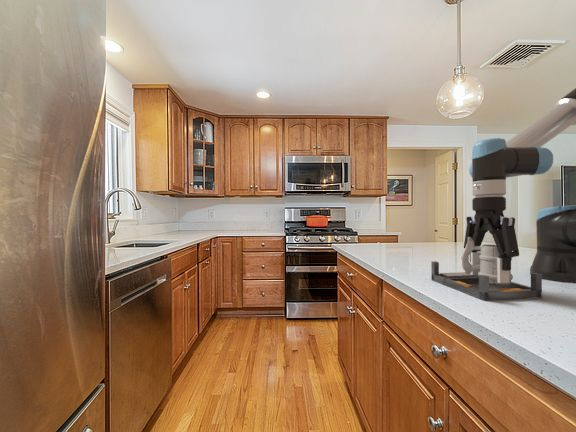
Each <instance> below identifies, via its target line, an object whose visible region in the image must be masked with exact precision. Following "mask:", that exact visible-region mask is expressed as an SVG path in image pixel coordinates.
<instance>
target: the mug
mask: <svg viewBox="0 0 576 432" xmlns="http://www.w3.org/2000/svg"><path fill="white" fill-rule="evenodd" d="M473 250H480V252H481V254H480V255H479V258H480V264H476V265H471V262H470V253H471V252H472V251H473ZM505 253H506V252H505ZM498 256H500V254H499V252H498V249H497V246H496V244H481V246H475V243H474V241H473V239H472V238H471V237H468V242H467V244H466V247H465V249H464V248H463V253H462V255H461V267H462V269H463V271H464V272H466V274H470V273H471V272H472V271H475V270H480V271H479V272H478V276H479V275H486V276H489V283H490V284H499V285H507V284H511V282H512V280H513V279H514V276H513V274H512V272H511V271H512V269H511V270H510V271H509V283H498V282H497V258H498ZM512 258H513V257H512ZM512 258H511V262H512V261H513V259H512Z"/></svg>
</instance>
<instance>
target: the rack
mask: <svg viewBox="0 0 576 432" xmlns="http://www.w3.org/2000/svg"><path fill="white" fill-rule="evenodd" d="M430 264H431V265H430V266H431V267H430V268H431V281H433V282H436V283H438V284H440V285H444V286H445V287H448V288H451V289H453V290H456V291H459V292H461V293H463V294H466V295H469V296H471V297H474V298H476V299H478V300H481V301H483V302H484V301H499V300H500V301H502V300H506V301H507V300H523V299H542V297H543V291H542V288H543V285H542V284H543V278H542V274H538V273H531V274H530V286H528V285H524V284H522V283H518V282H514V281H511V284H507V285H499V284H490V283H489V276H486V275H479V276H478V275H471V273H470V274H466V272H465V271H464V272H463V271H462V272H460V271H459V272H440V265H439V264H440V261H435V260H434V261H431V263H430Z"/></svg>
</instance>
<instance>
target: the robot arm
mask: <svg viewBox="0 0 576 432" xmlns="http://www.w3.org/2000/svg"><path fill="white" fill-rule="evenodd" d="M571 126H576V87H575V88H574V89H572V90H571V91H570V92H569V93H567V94H566V95H564V96H563V97H562V98H560V99H558V100H557V101H556V102H555V103H554V104H553V106H552V108H551V109H550V110H549V111H548V112H546V113H545V114H543V115H542V116H541V117H539V118H538V119H536V120H535V121H534V122H533V123H531V124H529V125H528V126H527V127H525V128H523V129H522V130H521V131H519V132H518V133H517V134H515V135H514V136H513V137H512V138H510V139H508V140H506V139H504V138H501V137H500V138H499V137H497V138H487V139H486V138H485V139H481V140H478V141H476V142H475V143H474V144H473V146H472V151H471V152H472V153H471V164H470V165H469V169H468V171H469V175H470V177H471V179H472V196H473V198H472V199H471V200H472V201H471V207H472V211H474V212H475V214H474V216H467V217H466V218H465V219H466V230H465V237H464V243H463V250H464V249H465V247H466V244H467V242H468V237H471V238H472V239H473V241H474V243H475V246H481V245H483V244H482V243H483V241H484V238H485V235H486V233H488V232H489V234H491V235H492V238H493V240H494V243H495V244H494V245H496V246H497V249H498V252H499V254H500V256H498V258H497V282H498V283H509V271H510V270H511V271H512V261H511V258H515V257H519V256H520V248H519V246H518V241H517V240H518V239H517V234H516V228H515V225H516V218H515V217H512V216H511V217H506V216H505V215H504V211H505V210H507V198H506V197H505V195H506V194H507V181H506V180H507V178H512V177H519V176H536V175H543V174H546V173H547V172H548V171H549V170H550V169H551V168H552V166H553V164H554V155H553V152H552V151H551V150H550V149H549V148H547V147H543V146H545V145H546V144H547V143H548V142H550V141H551V140H553V139H554V138H556V137H557V136H558V135H560V134H561V133H563V132H564V131H565V130H567V129H569V128H570V127H571ZM535 221H536V253H535V256H534V258H533V262H532V263H531V264H532V265H531V266H530V267H529V275H531V273H538V274H542V280H543V279H544V280H550V281H555V282H557V281H558V282H564V283H576V204H575V205H574V204H572V205H561V206H559V205H558V206H551V207H550V206H549V207H545V208H544V207H543V208H541V209H540V210H538V211H537V215H536V220H535ZM505 252H506V253H505ZM480 254H481V250H473V251H472V252H471V253H470V254H469V262H470V264H471V265H476V264H480V258H479V255H480ZM479 271H480V270H475V271H472V272H471V275H478V272H479Z"/></svg>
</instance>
